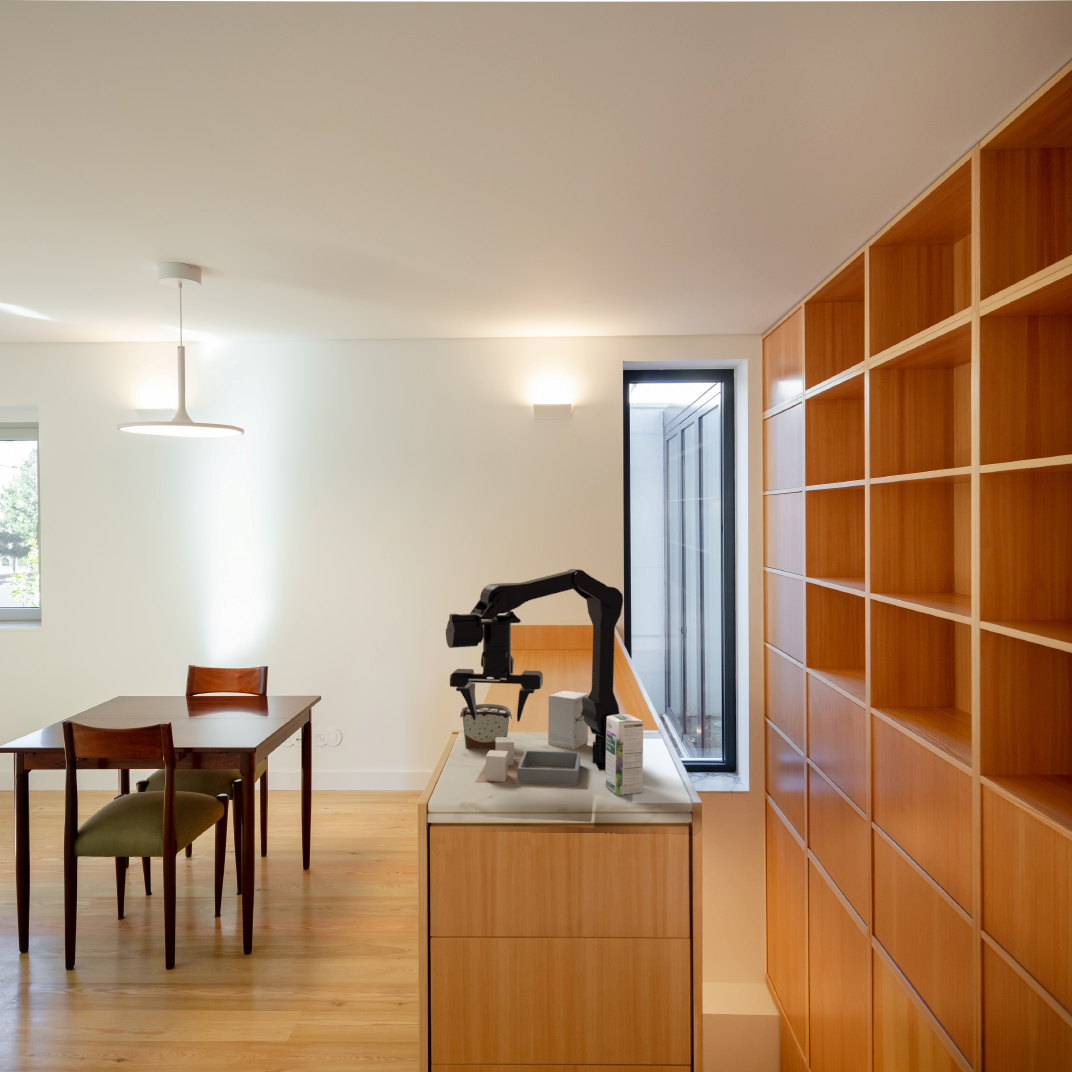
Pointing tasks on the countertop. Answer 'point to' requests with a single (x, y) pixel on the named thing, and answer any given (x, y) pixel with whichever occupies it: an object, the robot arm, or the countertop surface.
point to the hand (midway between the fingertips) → (496, 720)
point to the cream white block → (506, 747)
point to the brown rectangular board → (510, 778)
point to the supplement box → (567, 720)
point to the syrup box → (624, 754)
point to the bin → (549, 774)
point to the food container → (485, 725)
